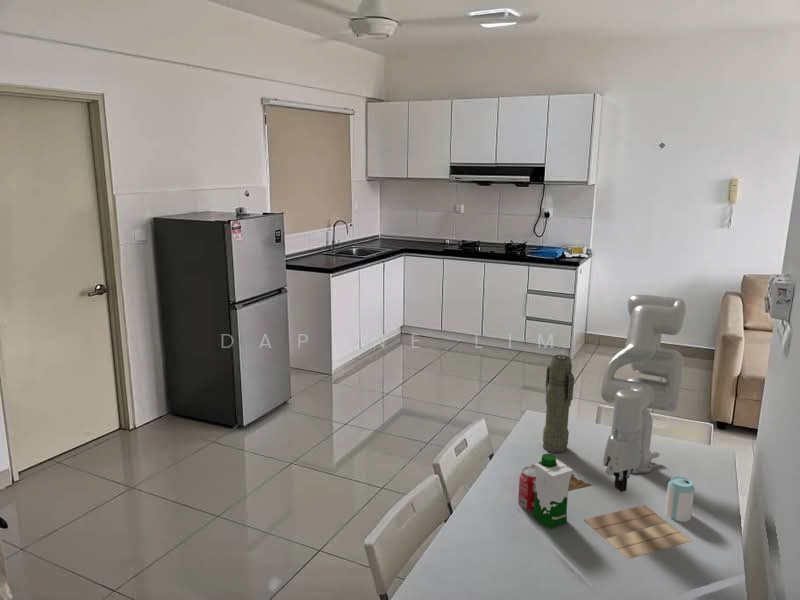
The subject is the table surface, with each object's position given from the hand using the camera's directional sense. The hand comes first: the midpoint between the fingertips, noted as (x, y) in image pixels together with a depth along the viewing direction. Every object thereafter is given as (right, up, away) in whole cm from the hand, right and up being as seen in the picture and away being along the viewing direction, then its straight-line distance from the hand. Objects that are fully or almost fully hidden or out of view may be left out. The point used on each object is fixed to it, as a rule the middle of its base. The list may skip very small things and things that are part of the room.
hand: (620, 489), depth 178 cm
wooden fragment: (-11, -5, +23) cm, 25 cm away
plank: (+1, -10, -2) cm, 10 cm away
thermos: (-8, +1, +44) cm, 45 cm away
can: (+18, -9, +2) cm, 20 cm away
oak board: (+4, -12, -10) cm, 16 cm away
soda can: (-25, -8, +7) cm, 27 cm away
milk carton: (-21, -10, -1) cm, 23 cm away
